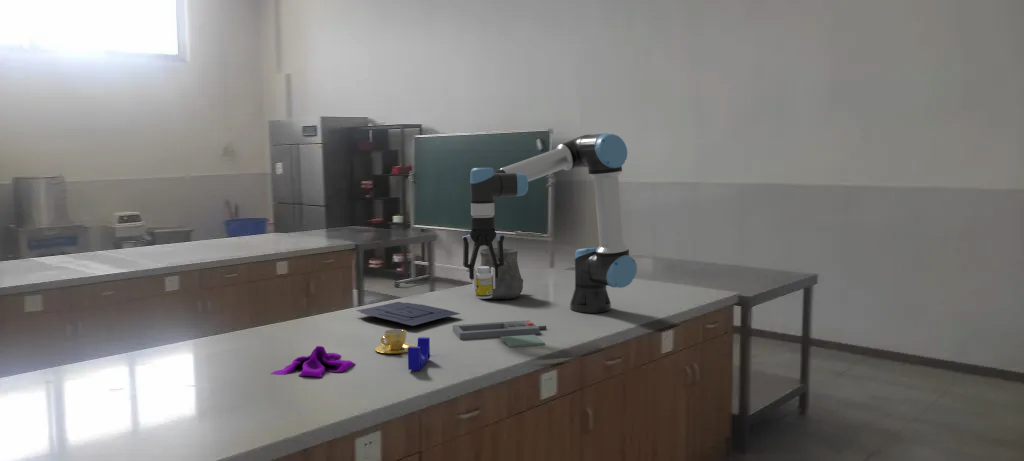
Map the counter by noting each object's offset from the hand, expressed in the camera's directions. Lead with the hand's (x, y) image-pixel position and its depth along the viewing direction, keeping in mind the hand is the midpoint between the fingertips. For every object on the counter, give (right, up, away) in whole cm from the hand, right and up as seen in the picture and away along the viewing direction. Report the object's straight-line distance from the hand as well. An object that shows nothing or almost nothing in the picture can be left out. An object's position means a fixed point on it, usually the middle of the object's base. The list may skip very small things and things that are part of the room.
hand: (483, 288), depth 238 cm
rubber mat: (+12, -16, -10) cm, 22 cm away
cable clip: (-17, -18, -33) cm, 42 cm away
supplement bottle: (0, -3, 0) cm, 3 cm away
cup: (-26, -17, -17) cm, 35 cm away
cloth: (-45, -19, -36) cm, 60 cm away
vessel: (+5, -9, +61) cm, 62 cm away
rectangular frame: (+6, -14, +3) cm, 16 cm away
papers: (-28, -13, +22) cm, 38 cm away
